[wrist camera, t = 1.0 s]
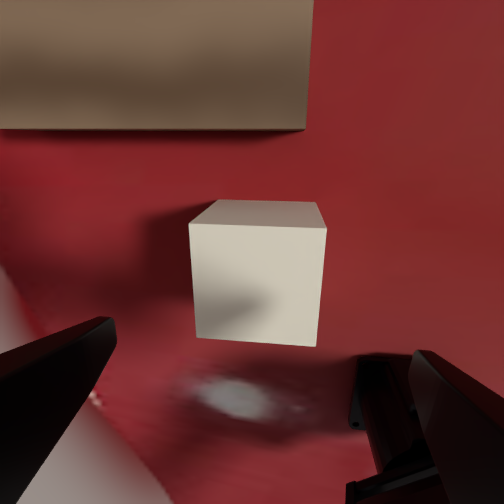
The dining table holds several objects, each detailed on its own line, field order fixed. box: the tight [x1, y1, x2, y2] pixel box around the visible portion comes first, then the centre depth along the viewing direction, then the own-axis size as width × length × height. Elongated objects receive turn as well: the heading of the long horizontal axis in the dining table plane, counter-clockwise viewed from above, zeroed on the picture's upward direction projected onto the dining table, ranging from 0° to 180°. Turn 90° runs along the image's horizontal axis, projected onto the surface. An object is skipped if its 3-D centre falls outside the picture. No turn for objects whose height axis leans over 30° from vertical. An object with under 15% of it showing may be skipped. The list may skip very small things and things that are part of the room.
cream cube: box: [189, 200, 327, 347], centre depth 17 cm, size 6×6×6 cm
